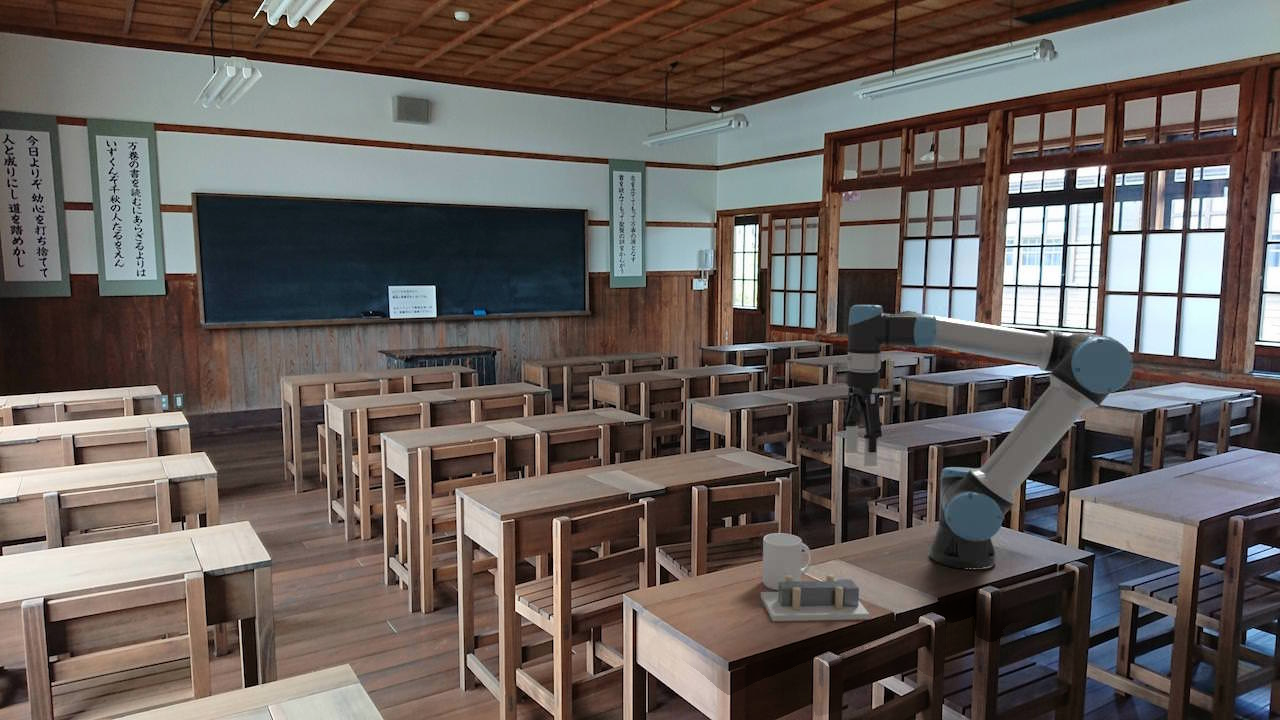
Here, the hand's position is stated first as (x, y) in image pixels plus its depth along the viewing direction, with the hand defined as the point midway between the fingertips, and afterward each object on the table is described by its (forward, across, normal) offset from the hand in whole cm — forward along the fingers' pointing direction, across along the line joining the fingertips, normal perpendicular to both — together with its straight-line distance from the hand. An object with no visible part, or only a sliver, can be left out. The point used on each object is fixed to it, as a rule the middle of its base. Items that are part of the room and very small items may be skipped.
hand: (860, 458), depth 190 cm
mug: (+27, +9, -19) cm, 34 cm away
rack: (+27, +23, -17) cm, 39 cm away
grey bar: (+25, +23, -16) cm, 38 cm away
